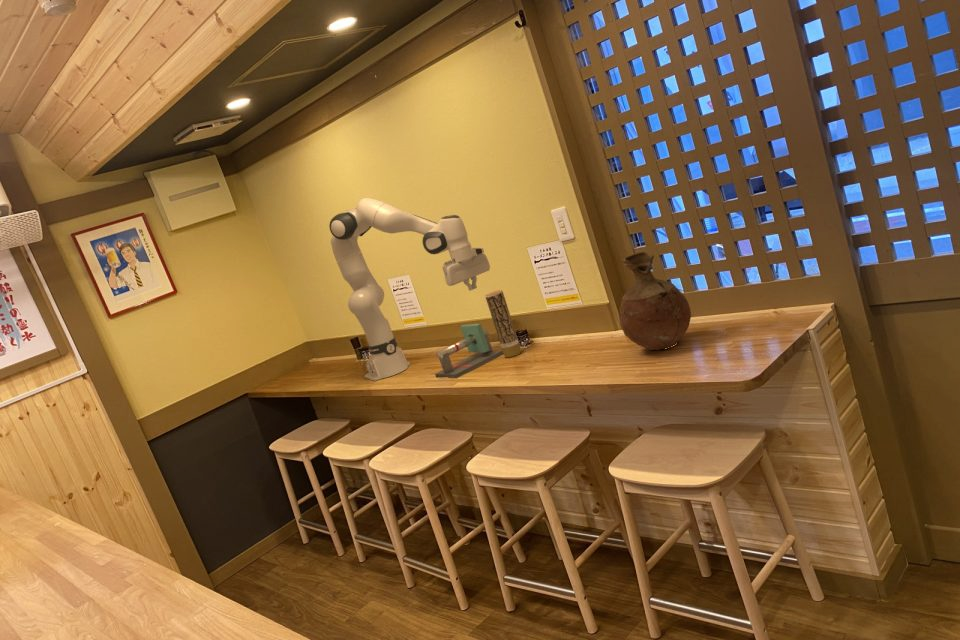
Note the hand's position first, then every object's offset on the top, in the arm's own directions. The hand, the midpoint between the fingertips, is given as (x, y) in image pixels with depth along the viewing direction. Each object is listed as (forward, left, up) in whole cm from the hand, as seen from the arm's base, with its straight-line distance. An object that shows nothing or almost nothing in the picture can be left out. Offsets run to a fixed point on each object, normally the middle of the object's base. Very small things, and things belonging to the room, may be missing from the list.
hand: (473, 289), depth 283 cm
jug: (+80, +6, -27) cm, 85 cm away
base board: (0, -12, -27) cm, 30 cm away
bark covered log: (+14, -1, -27) cm, 31 cm away
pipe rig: (0, -13, -25) cm, 28 cm away
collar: (0, -7, -24) cm, 24 cm away
